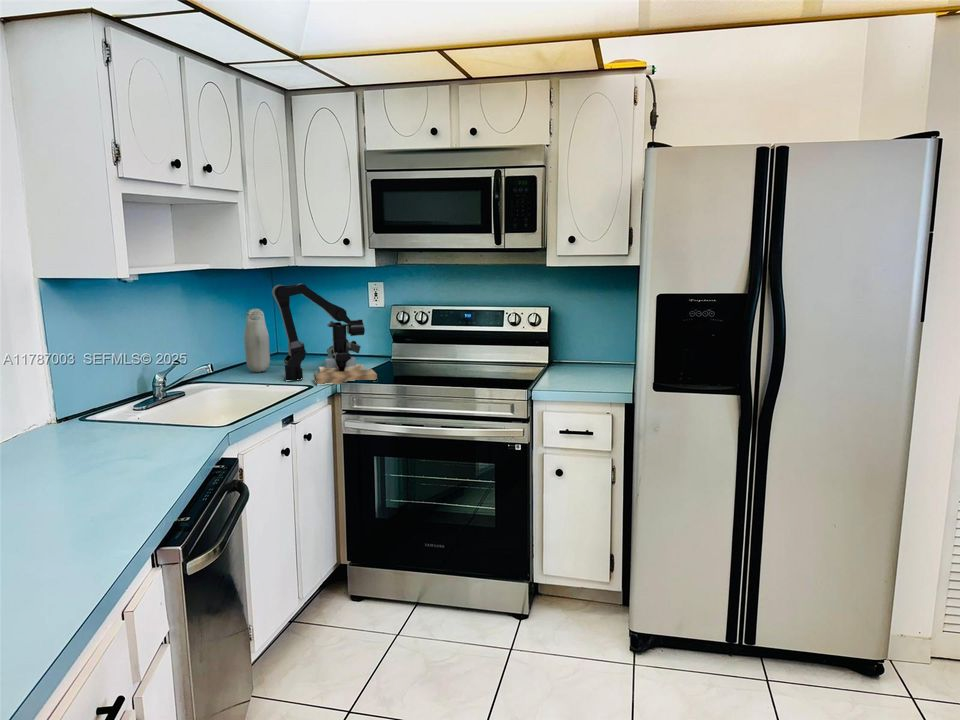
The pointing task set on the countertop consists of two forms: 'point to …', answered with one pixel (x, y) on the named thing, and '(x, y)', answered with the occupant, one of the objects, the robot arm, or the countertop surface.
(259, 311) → the grey bottle
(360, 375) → the dock
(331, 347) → the flower pot
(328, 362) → the crate
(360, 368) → the light wooden block
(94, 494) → the countertop surface
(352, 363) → the crate
